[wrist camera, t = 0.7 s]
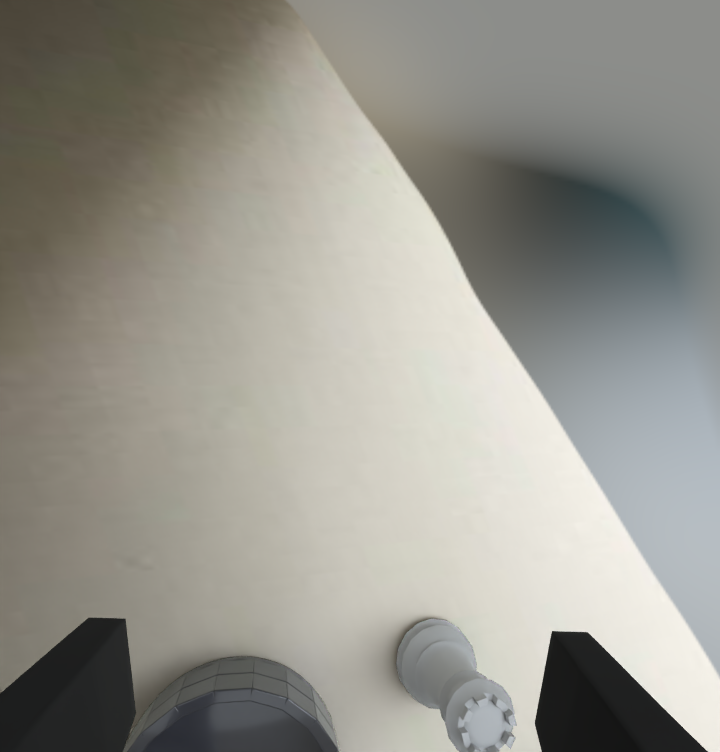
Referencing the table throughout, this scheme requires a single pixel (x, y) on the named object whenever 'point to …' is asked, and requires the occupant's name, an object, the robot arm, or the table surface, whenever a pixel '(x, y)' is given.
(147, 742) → the pan
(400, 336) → the table surface
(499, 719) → the rook chess piece
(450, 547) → the table surface
